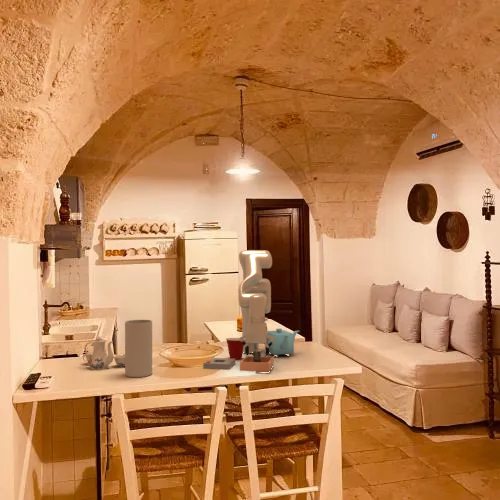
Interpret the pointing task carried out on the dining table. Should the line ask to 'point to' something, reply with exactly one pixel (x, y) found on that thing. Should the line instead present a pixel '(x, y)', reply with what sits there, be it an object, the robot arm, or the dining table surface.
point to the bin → (257, 364)
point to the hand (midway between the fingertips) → (257, 355)
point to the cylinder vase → (138, 348)
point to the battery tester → (219, 363)
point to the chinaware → (102, 356)
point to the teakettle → (281, 342)
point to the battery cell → (256, 356)
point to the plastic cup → (235, 348)
